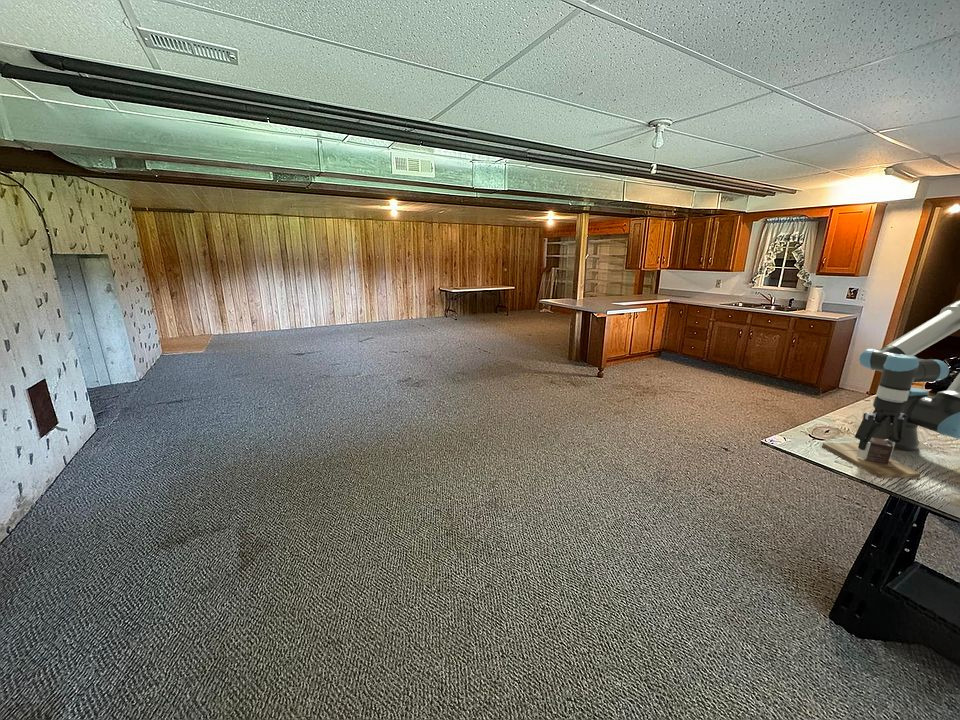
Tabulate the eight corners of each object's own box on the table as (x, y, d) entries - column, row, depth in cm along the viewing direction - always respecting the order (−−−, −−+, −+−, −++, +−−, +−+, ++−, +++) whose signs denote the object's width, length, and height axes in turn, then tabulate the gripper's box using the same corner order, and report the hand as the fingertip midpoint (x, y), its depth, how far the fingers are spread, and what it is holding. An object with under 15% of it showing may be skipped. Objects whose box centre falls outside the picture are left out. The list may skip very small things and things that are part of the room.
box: (860, 453, 141) (865, 435, 139) (883, 458, 137) (888, 439, 135) (864, 460, 136) (869, 442, 134) (887, 465, 133) (893, 446, 131)
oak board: (857, 446, 149) (858, 442, 149) (919, 477, 128) (921, 473, 128) (821, 446, 149) (822, 442, 149) (878, 477, 128) (879, 473, 128)
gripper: (908, 394, 134) (890, 451, 140) (850, 395, 134) (835, 452, 140) (933, 402, 127) (913, 462, 133) (872, 403, 127) (855, 463, 133)
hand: (873, 457), depth 137 cm, fingers closed on box, 8 cm apart
